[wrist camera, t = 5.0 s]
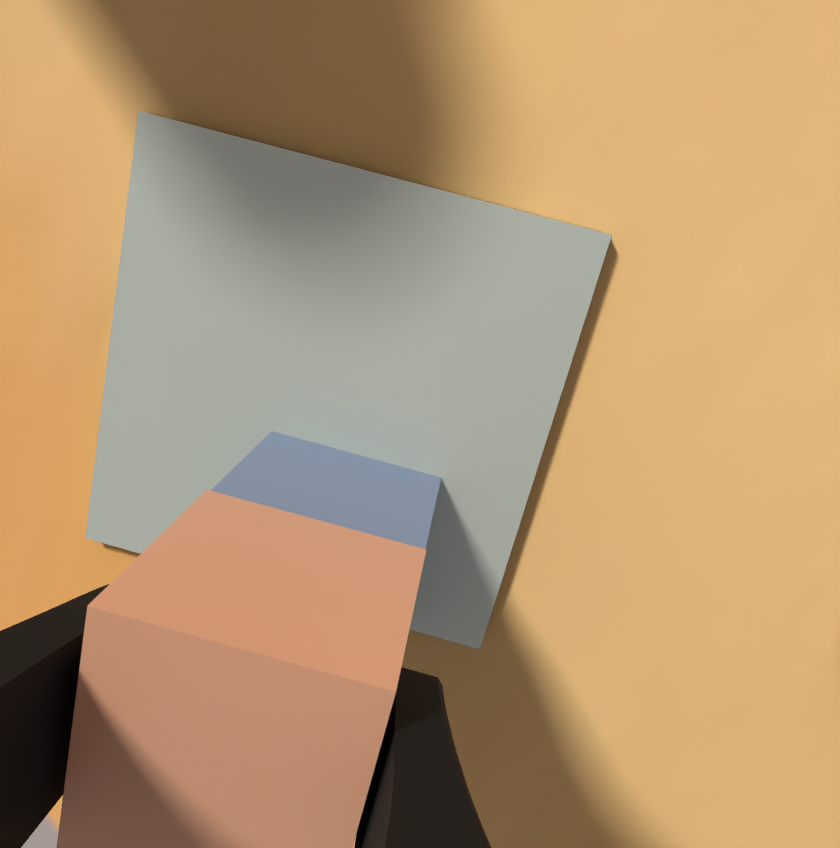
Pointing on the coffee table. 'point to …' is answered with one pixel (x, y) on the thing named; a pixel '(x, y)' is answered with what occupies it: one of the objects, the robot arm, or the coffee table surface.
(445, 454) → the plate
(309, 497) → the blue brick
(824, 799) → the coffee table surface
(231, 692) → the salmon orange cube
